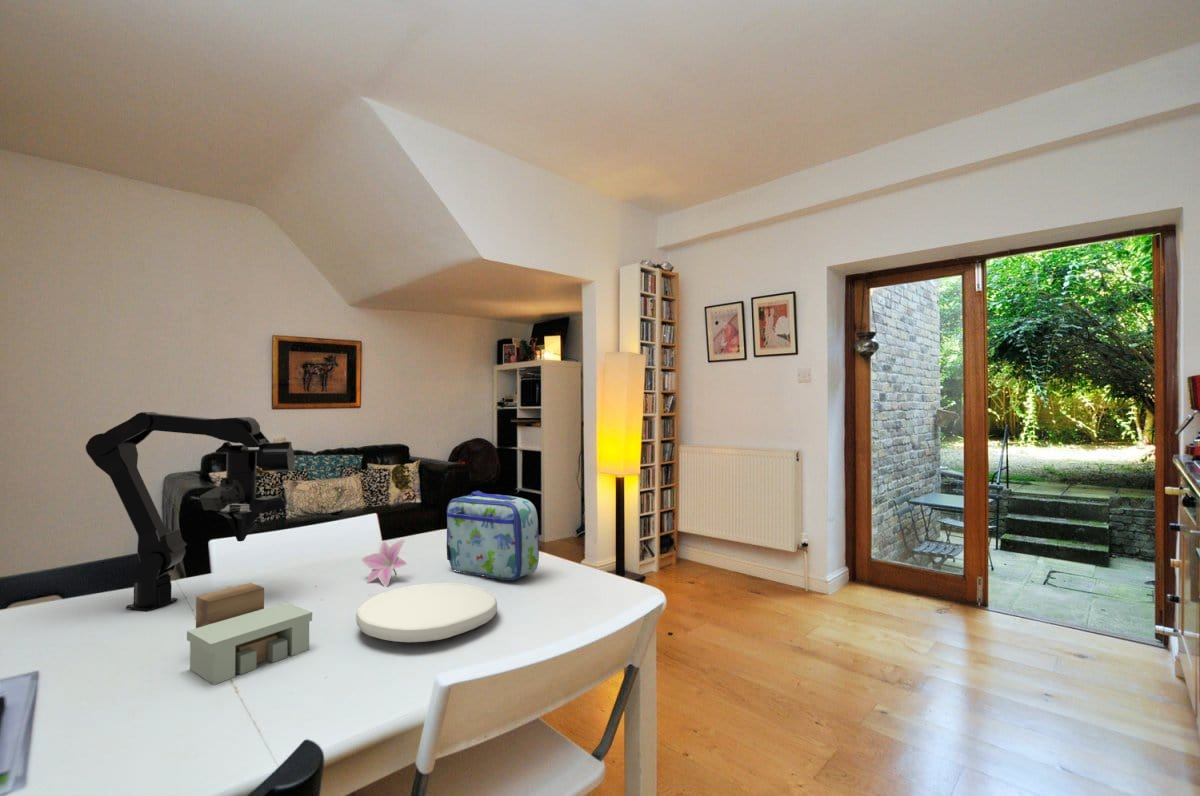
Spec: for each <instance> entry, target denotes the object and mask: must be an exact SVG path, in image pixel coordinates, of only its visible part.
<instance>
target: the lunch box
mask: <svg viewBox="0 0 1200 796" xmlns="http://www.w3.org/2000/svg"><path fill="white" fill-rule="evenodd" d="M539 533H540V532H539V519H538V512H537V509H536V507H535V505H534V504H533V502H532V501H530V500H529V499H526V498H523V497H519V496H512V495H503V494H491V493H484V492H482V491H480V490H476V491H472V492H471V494H468V495H463V496H460V497H455V498H452V499H451V500H450V501H449V502H448V505H447V508H446V557H447V558H446V560H447V561H448V562H449V566H450V568H451V569H452V571H453V570H456V571H460V572H465V573H464V574H468V573H469V575H474V574H475V576H479V575H484V576H488V577H487V578H489V577H493V578H492V579H495V578H498V579H497V580H501V581H508V582H509V581H510V582H515V581H516V580H518V579H519V578H521V577H525V576H527V575H530V574H533V573H534V572H535V571H536V570H537V569H538V566H539V560H540V559H539V557H540V555H539V554H540V553H539V552H540V546H539V545H540V543H539V541H540V536H539ZM484 576H483V577H484Z"/></svg>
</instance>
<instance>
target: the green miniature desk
mask: <svg viewBox="0 0 1200 796" xmlns="http://www.w3.org/2000/svg"><path fill="white" fill-rule="evenodd" d="M312 621H313V611H310V610H308V609H305V608H302V607H300V606H297V605H295V604H292V603H290V602H287V601H286V602H283V603H279V604H276V605H272V606H269V607H264V609H261V610H258V611H254V612H251V613H247V614H244V615H240V616H237V617H233V618H230V619H226V620H223V621H220V622H216V623H213V624H209V625H206V626H202V627H199V628H196V627H195V628H192V629H189V630H186V641H187V642H189V650H190V651H189V670H190V671H192V672H193V673H195V674H196V675H199V676H200V677H201V678H202V679H204V680H206V681H208V683H210V684H212V685H217V684H219V683H222V682H225V681H227V680H230V679H233V678H235V677H236V674H238V675H240V676H241V675H244V674H246V673H249V672H253V671H254V670H257V663H256V659H257V651H256V650H254V649H252V648H249V649H246V650H243V651H240V652H237V653H235V646H236V645H239V644H242V643H245V642H248V641H251V640H254V639H257V638H260V637H263V636H267V635H270V634H275V635H277V639H275V640H273V641H270V642H267V659H266V661H268V662H271V663H273V664H274V663H276V662H279V661H282V660H284V659H287V658H288V655H290V656H292V657H293V656H295V655H298V654H300V653H304V652H306V651H309V650H310V622H312Z"/></svg>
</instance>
